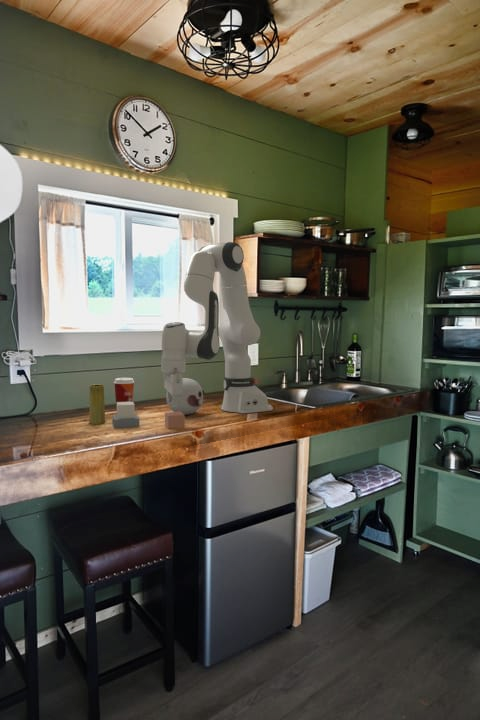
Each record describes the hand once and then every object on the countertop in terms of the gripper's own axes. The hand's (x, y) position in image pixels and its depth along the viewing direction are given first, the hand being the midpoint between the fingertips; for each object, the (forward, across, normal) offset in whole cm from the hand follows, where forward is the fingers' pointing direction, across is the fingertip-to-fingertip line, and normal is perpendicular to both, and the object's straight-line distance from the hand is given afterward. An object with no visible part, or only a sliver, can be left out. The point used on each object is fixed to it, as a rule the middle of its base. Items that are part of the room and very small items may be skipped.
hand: (172, 404), depth 182 cm
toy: (+8, +20, -9) cm, 23 cm away
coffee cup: (+9, +24, +15) cm, 30 cm away
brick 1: (+6, +8, +16) cm, 19 cm away
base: (+9, +8, +16) cm, 20 cm away
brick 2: (+8, 0, -1) cm, 8 cm away
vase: (+9, +14, +26) cm, 31 cm away
